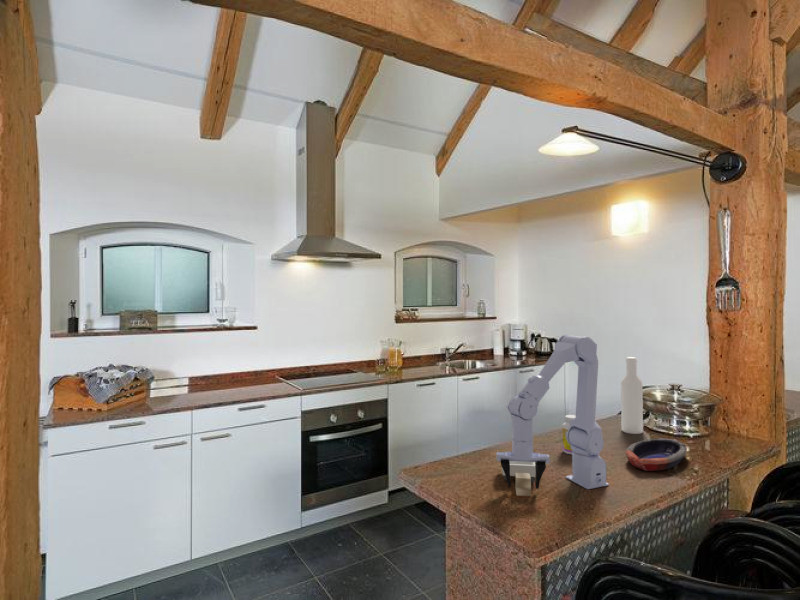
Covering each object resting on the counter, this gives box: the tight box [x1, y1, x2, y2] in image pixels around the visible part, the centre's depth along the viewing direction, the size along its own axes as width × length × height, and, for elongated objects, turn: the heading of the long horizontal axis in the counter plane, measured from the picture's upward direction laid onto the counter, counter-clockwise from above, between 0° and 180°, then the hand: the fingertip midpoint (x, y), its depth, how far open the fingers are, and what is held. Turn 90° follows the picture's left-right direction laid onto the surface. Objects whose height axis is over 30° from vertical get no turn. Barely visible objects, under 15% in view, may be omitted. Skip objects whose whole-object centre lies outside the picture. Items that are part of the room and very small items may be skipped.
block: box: [514, 473, 532, 497], centre depth 134 cm, size 4×4×5 cm
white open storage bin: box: [501, 461, 536, 484], centre depth 145 cm, size 10×9×5 cm
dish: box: [625, 438, 687, 472], centre depth 157 cm, size 16×31×5 cm, turn 129°
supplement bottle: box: [562, 414, 576, 456], centre depth 167 cm, size 7×7×13 cm
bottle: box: [620, 356, 644, 435], centre depth 190 cm, size 8×8×30 cm
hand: (522, 486), depth 134 cm, fingers open, 7 cm apart
